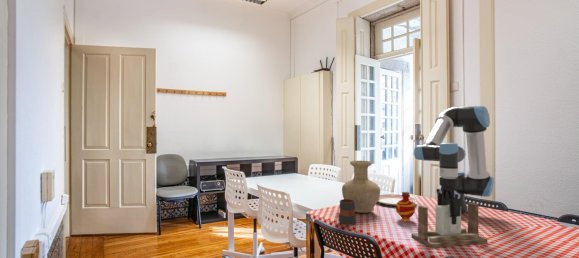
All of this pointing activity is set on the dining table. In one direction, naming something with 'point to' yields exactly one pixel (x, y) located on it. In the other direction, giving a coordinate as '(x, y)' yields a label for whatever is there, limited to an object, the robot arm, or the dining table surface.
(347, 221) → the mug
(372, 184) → the vase
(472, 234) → the wooden rack
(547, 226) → the dining table surface
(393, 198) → the dinner plate
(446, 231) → the cream rectangular block
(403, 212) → the potion bottle
